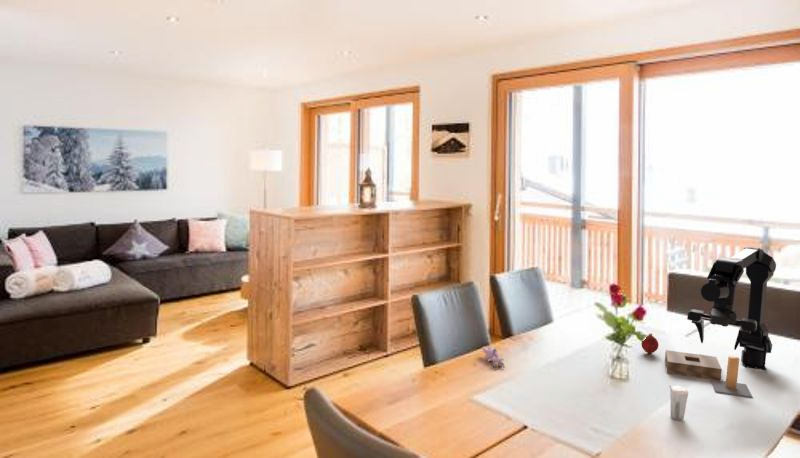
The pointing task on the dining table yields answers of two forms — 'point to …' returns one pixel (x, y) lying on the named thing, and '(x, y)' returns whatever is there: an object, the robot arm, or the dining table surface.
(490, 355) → the rabbit figure
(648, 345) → the onion
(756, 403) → the dining table surface
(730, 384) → the peg
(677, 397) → the milkshake
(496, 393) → the dining table surface
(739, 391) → the mat
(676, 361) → the hole block
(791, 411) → the dining table surface
